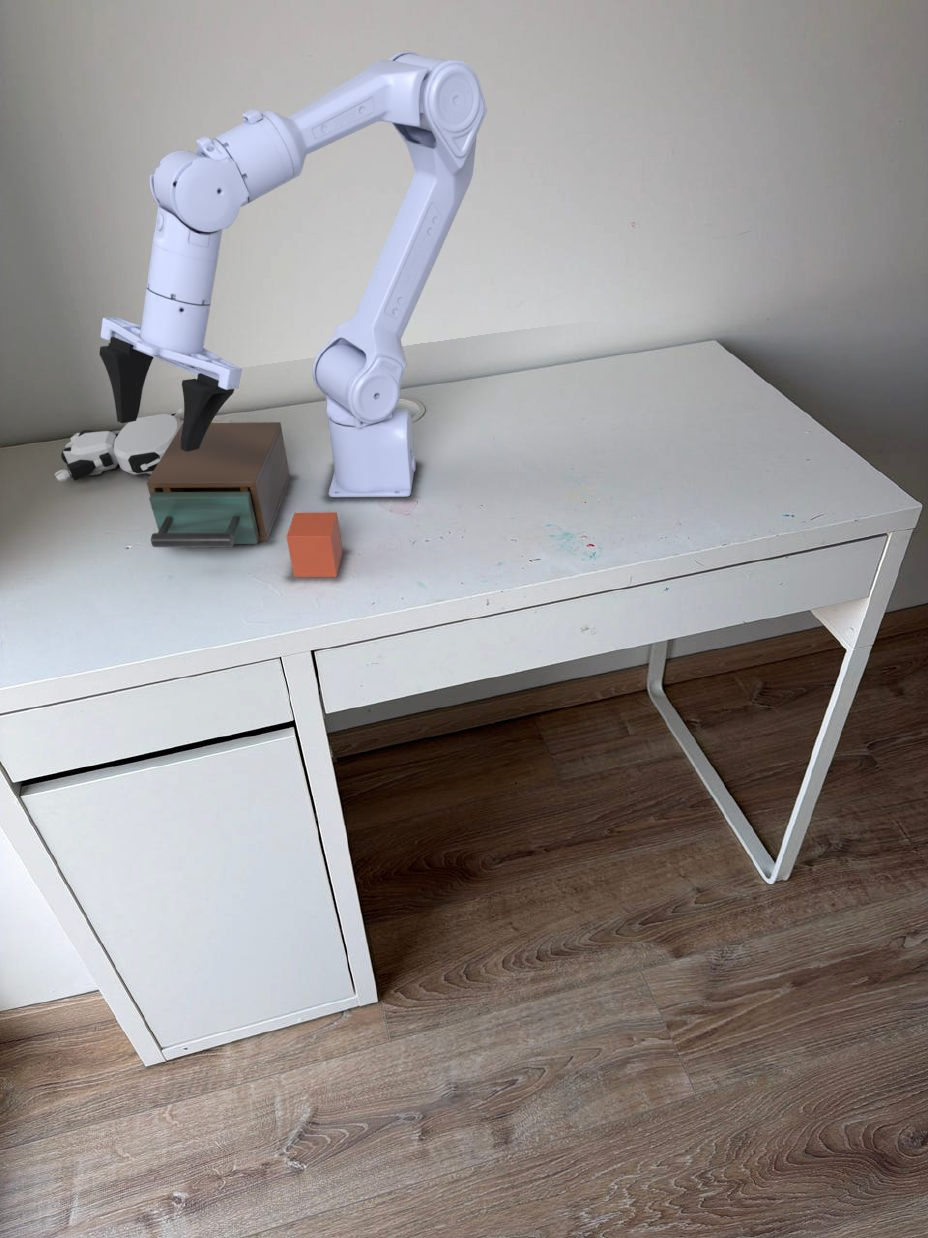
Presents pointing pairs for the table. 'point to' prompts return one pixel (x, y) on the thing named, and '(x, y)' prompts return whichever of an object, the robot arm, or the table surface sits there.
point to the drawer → (204, 517)
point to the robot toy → (120, 447)
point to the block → (315, 544)
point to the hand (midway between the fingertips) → (158, 434)
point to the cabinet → (231, 466)
